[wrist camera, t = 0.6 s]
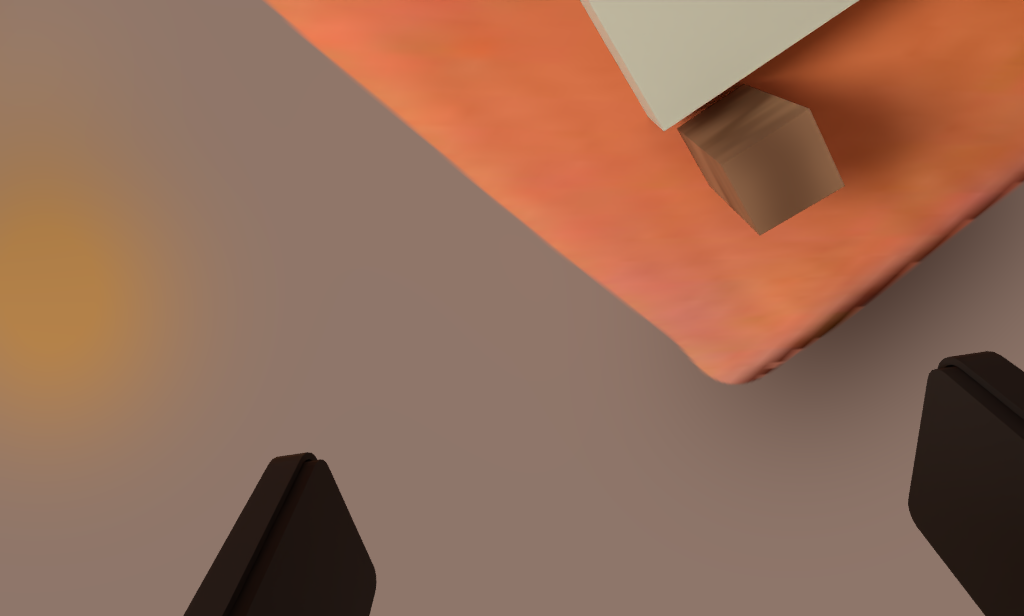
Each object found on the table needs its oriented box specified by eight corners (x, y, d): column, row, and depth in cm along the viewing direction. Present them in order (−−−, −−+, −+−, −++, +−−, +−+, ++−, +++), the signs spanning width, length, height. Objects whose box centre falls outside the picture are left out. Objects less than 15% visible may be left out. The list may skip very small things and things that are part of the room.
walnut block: (743, 84, 31) (809, 108, 24) (774, 145, 32) (844, 186, 25) (677, 128, 32) (721, 164, 25) (709, 186, 33) (759, 235, 26)
